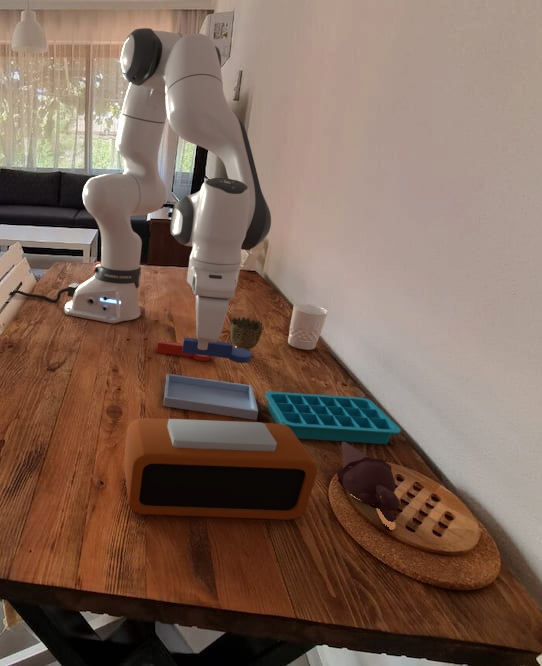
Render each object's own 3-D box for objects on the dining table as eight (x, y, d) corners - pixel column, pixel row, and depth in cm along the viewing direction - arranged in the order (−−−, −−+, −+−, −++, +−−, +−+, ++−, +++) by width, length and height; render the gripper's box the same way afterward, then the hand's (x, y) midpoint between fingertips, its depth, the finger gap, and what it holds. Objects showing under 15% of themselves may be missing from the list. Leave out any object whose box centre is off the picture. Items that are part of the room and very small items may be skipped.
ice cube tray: (399, 447, 78) (404, 433, 77) (280, 439, 79) (284, 425, 78) (364, 411, 89) (368, 397, 88) (260, 404, 90) (263, 391, 89)
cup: (259, 360, 109) (266, 329, 105) (227, 356, 110) (233, 326, 107) (255, 348, 115) (261, 318, 112) (225, 344, 117) (230, 315, 113)
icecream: (318, 428, 71) (364, 503, 58) (369, 422, 70) (427, 497, 57) (318, 461, 75) (361, 540, 61) (366, 455, 73) (421, 535, 60)
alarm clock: (127, 515, 61) (134, 445, 57) (122, 473, 69) (128, 409, 65) (303, 521, 62) (324, 453, 57) (279, 479, 69) (296, 416, 65)
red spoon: (156, 355, 109) (157, 345, 108) (157, 347, 113) (158, 338, 112) (210, 362, 107) (212, 352, 106) (209, 354, 111) (211, 344, 110)
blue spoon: (182, 355, 86) (183, 343, 85) (182, 346, 90) (184, 334, 89) (252, 364, 84) (254, 351, 83) (249, 354, 88) (251, 342, 87)
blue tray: (163, 406, 88) (164, 397, 87) (165, 381, 97) (166, 373, 96) (256, 420, 84) (258, 411, 84) (250, 393, 94) (251, 385, 93)
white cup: (316, 341, 121) (325, 306, 117) (319, 353, 114) (329, 316, 110) (284, 336, 123) (292, 301, 120) (286, 347, 116) (295, 311, 113)
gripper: (194, 260, 92) (185, 324, 97) (195, 288, 73) (184, 365, 78) (226, 263, 90) (215, 327, 96) (236, 292, 72) (222, 370, 77)
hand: (201, 345), depth 87 cm, fingers closed on blue spoon
